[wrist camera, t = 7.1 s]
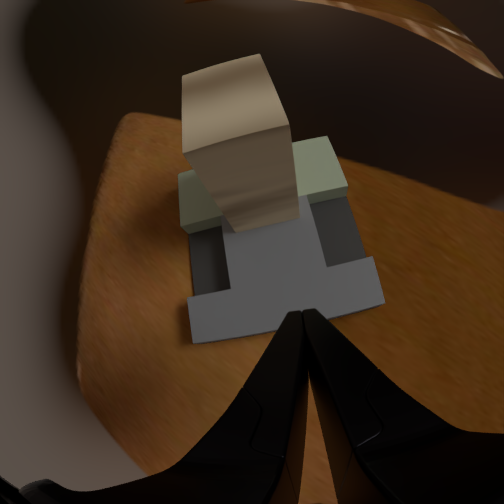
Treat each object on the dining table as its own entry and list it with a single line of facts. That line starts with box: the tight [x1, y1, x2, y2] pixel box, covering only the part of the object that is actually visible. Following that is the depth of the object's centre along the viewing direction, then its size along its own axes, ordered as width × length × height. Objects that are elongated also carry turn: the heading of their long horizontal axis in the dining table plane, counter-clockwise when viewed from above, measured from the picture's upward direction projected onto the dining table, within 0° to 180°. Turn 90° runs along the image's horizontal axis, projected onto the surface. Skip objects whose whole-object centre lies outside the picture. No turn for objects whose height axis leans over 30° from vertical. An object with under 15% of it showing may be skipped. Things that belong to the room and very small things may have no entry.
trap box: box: [178, 136, 385, 344], centre depth 22 cm, size 15×14×2 cm
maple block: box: [182, 54, 300, 233], centre depth 17 cm, size 7×5×10 cm
